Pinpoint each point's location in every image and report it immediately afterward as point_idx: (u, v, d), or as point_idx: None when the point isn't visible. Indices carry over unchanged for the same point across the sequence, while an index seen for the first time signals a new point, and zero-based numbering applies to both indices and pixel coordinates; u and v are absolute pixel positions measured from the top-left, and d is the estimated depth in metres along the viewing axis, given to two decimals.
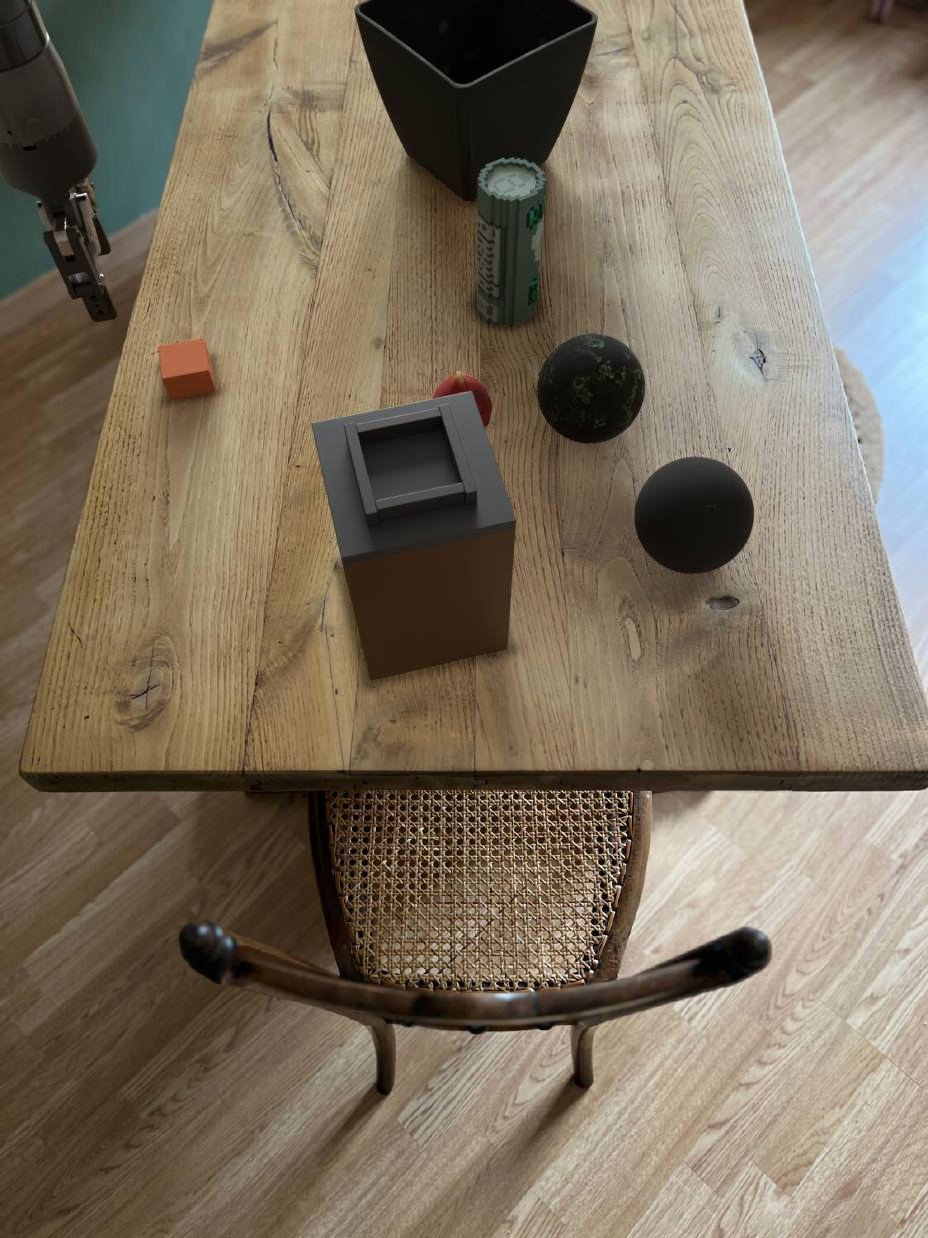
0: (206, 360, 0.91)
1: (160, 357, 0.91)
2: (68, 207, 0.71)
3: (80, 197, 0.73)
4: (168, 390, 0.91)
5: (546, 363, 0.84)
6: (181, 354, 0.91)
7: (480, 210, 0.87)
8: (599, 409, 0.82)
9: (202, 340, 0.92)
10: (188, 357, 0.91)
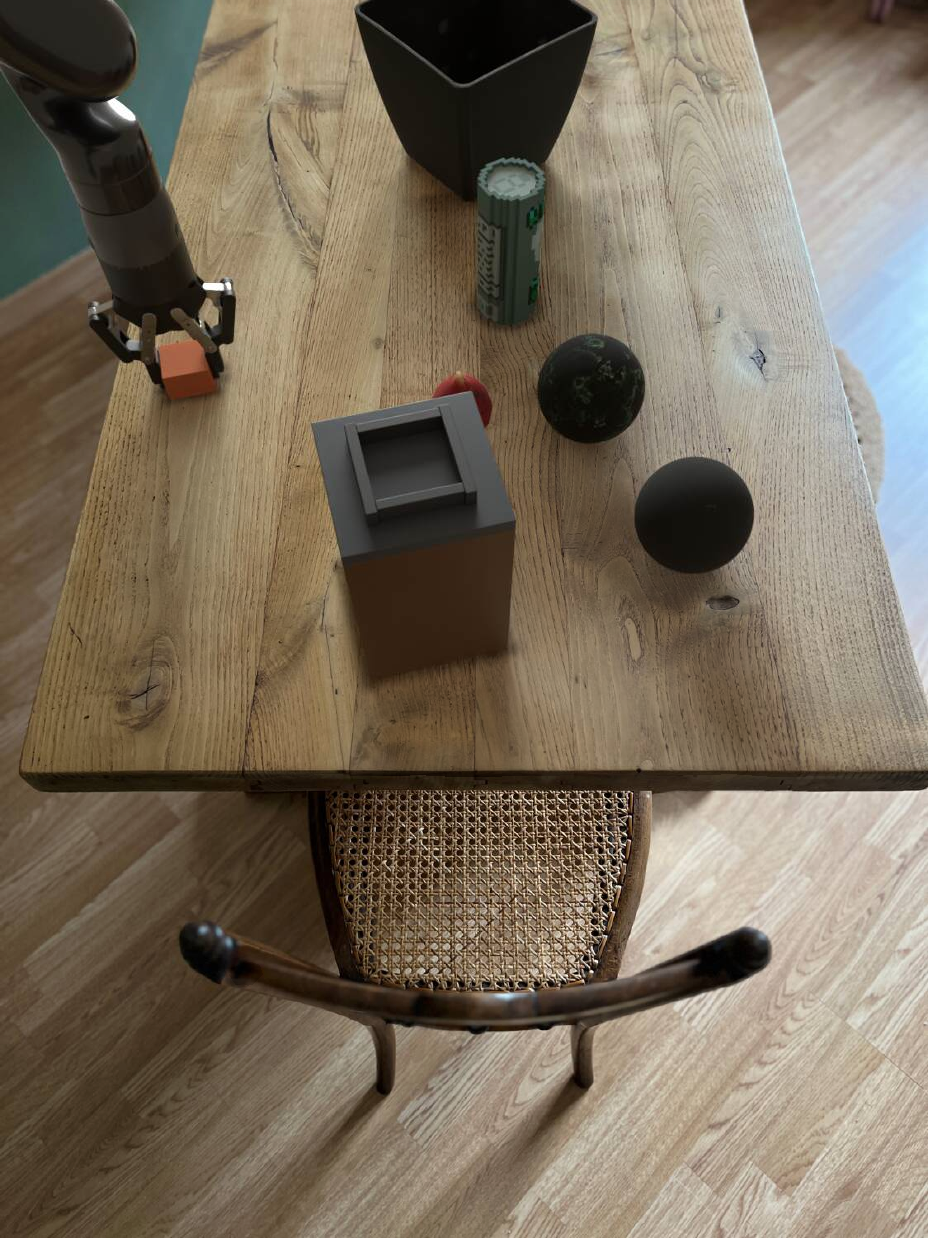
0: (206, 360, 0.91)
1: (160, 357, 0.91)
2: (114, 302, 0.83)
3: (145, 310, 0.84)
4: (168, 390, 0.91)
5: (546, 363, 0.84)
6: (181, 354, 0.91)
7: (480, 210, 0.87)
8: (599, 409, 0.82)
9: None
10: (188, 357, 0.91)
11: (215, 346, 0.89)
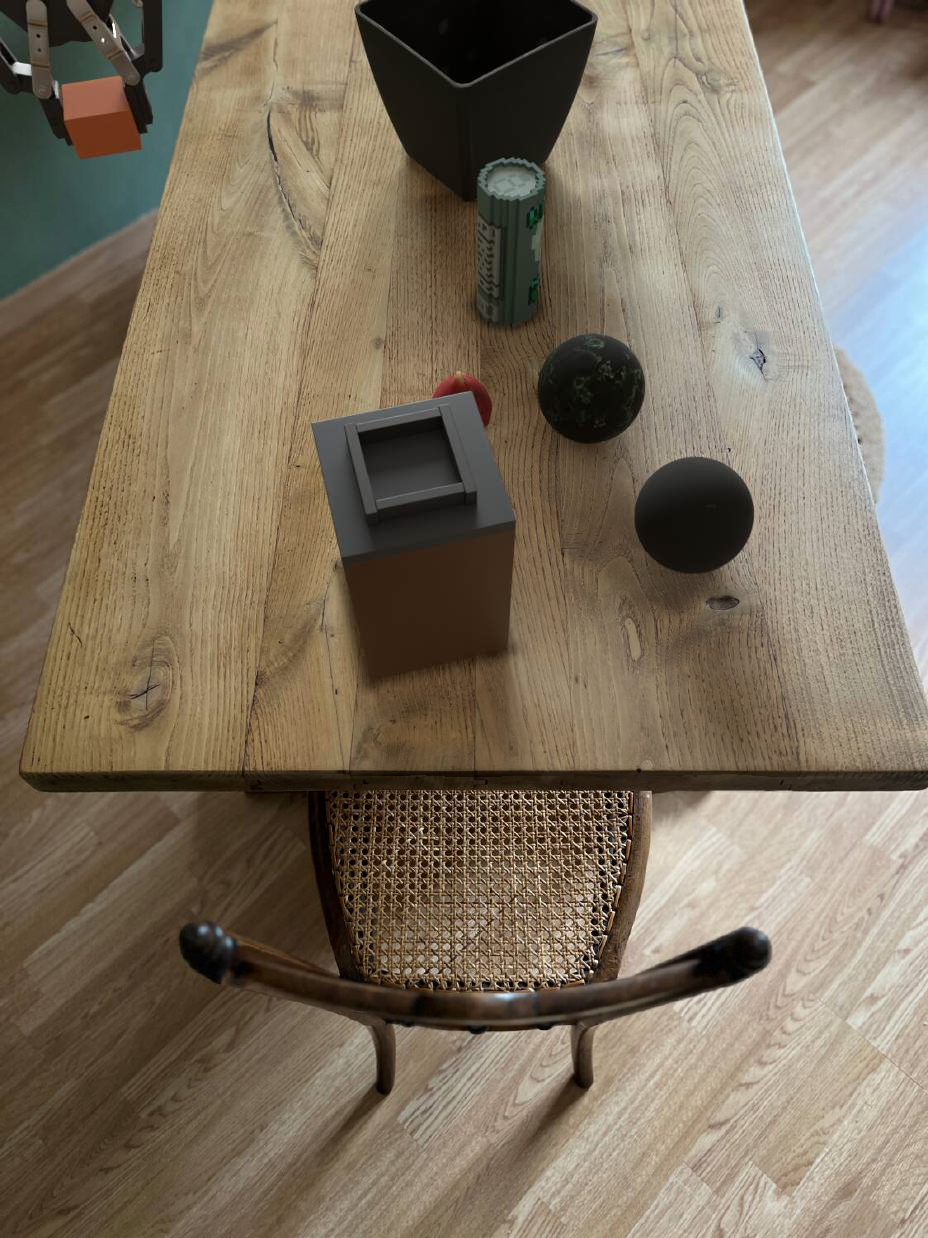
0: (126, 100, 0.66)
1: (63, 97, 0.66)
2: None
3: None
4: (74, 142, 0.66)
5: (546, 363, 0.84)
6: (92, 93, 0.66)
7: (480, 210, 0.87)
8: (599, 409, 0.82)
9: None
10: (102, 96, 0.66)
11: (137, 74, 0.65)
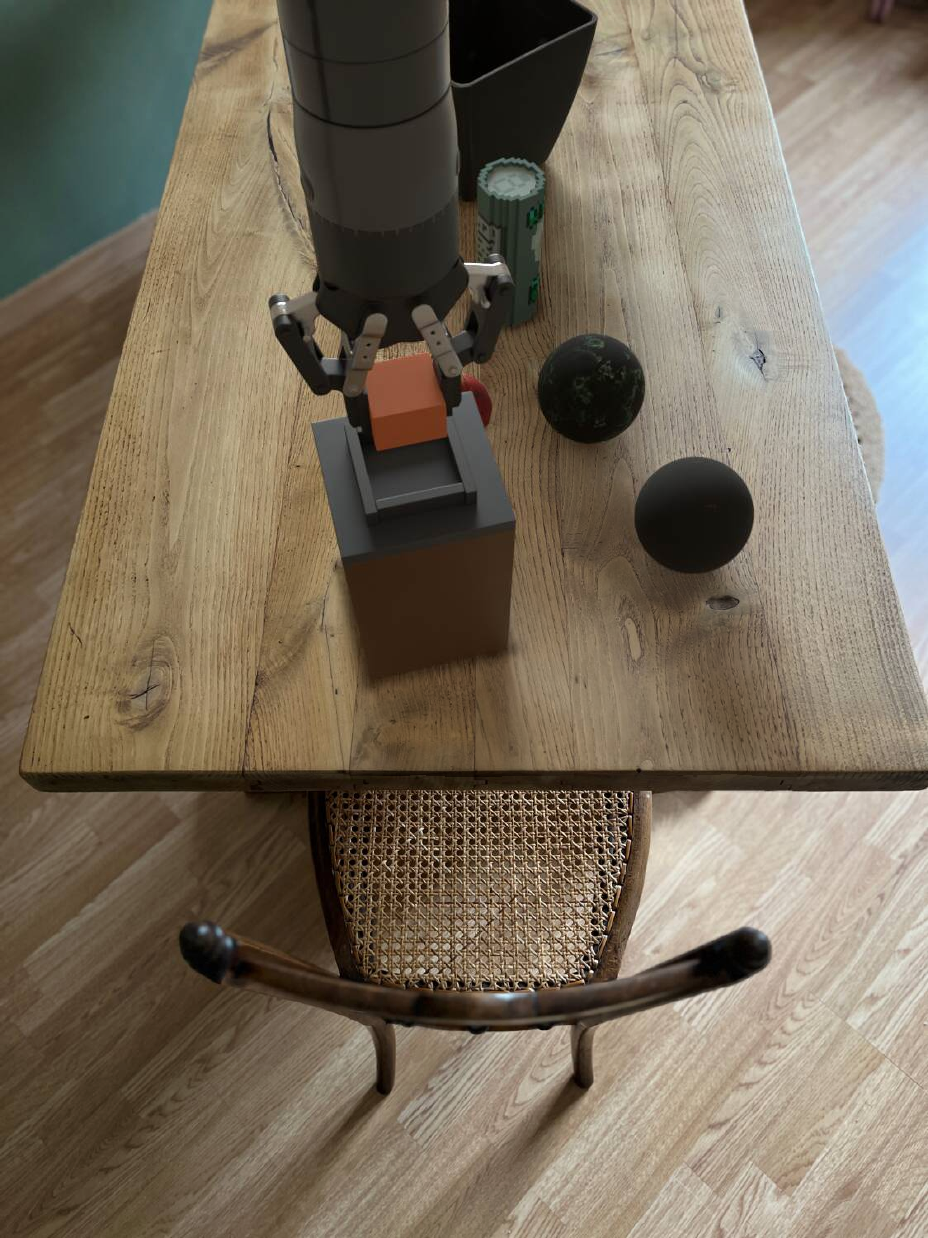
0: (439, 388, 0.57)
1: None
2: (322, 294, 0.48)
3: (370, 309, 0.49)
4: (377, 437, 0.57)
5: (546, 363, 0.84)
6: (397, 379, 0.57)
7: (480, 210, 0.87)
8: (599, 409, 0.82)
9: (428, 356, 0.58)
10: (410, 383, 0.57)
11: (461, 367, 0.55)
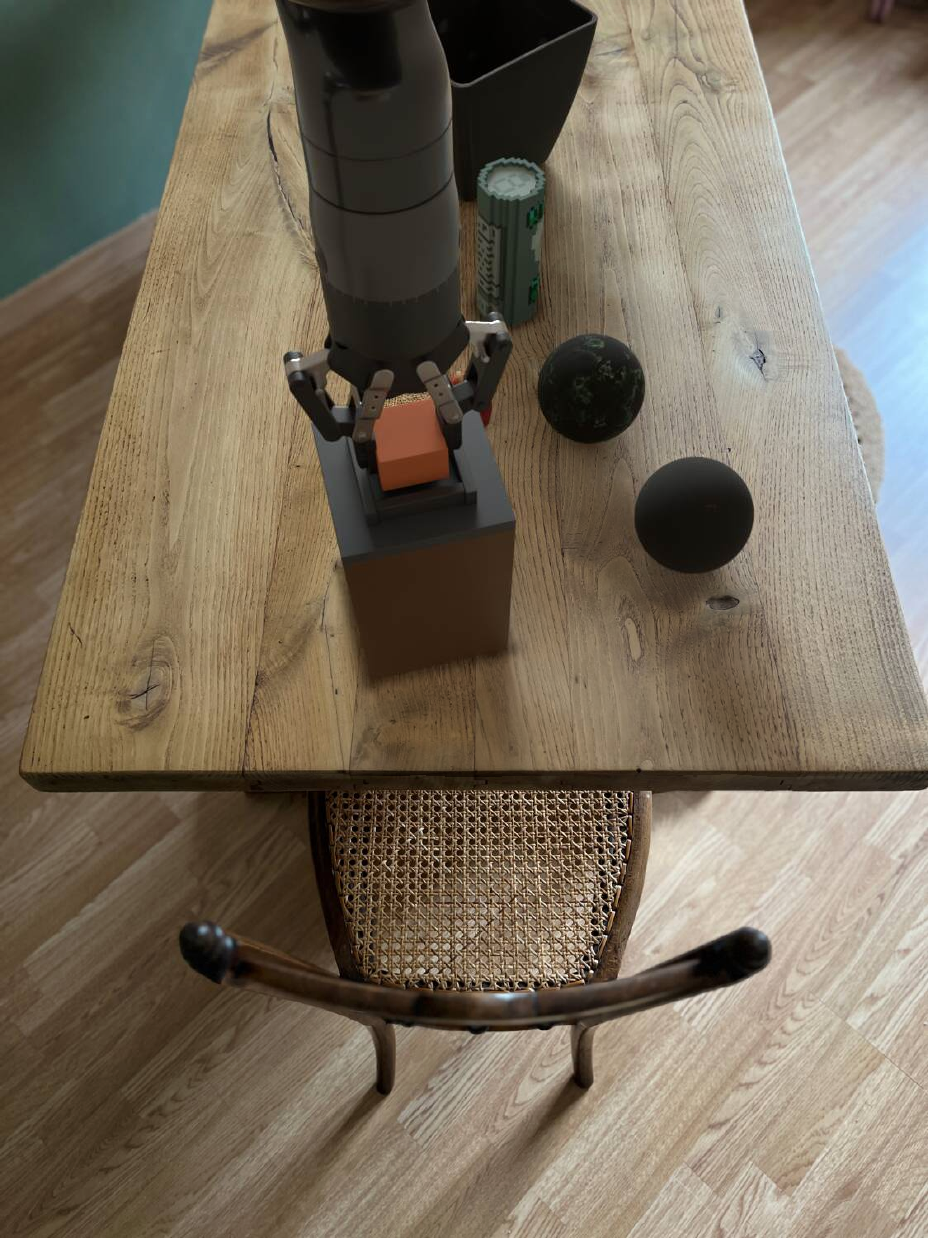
0: (441, 433, 0.60)
1: None
2: (333, 352, 0.52)
3: (378, 365, 0.53)
4: (383, 479, 0.60)
5: (546, 363, 0.84)
6: (402, 425, 0.61)
7: (480, 210, 0.87)
8: (599, 408, 0.82)
9: (431, 402, 0.61)
10: (414, 428, 0.60)
11: (461, 415, 0.59)
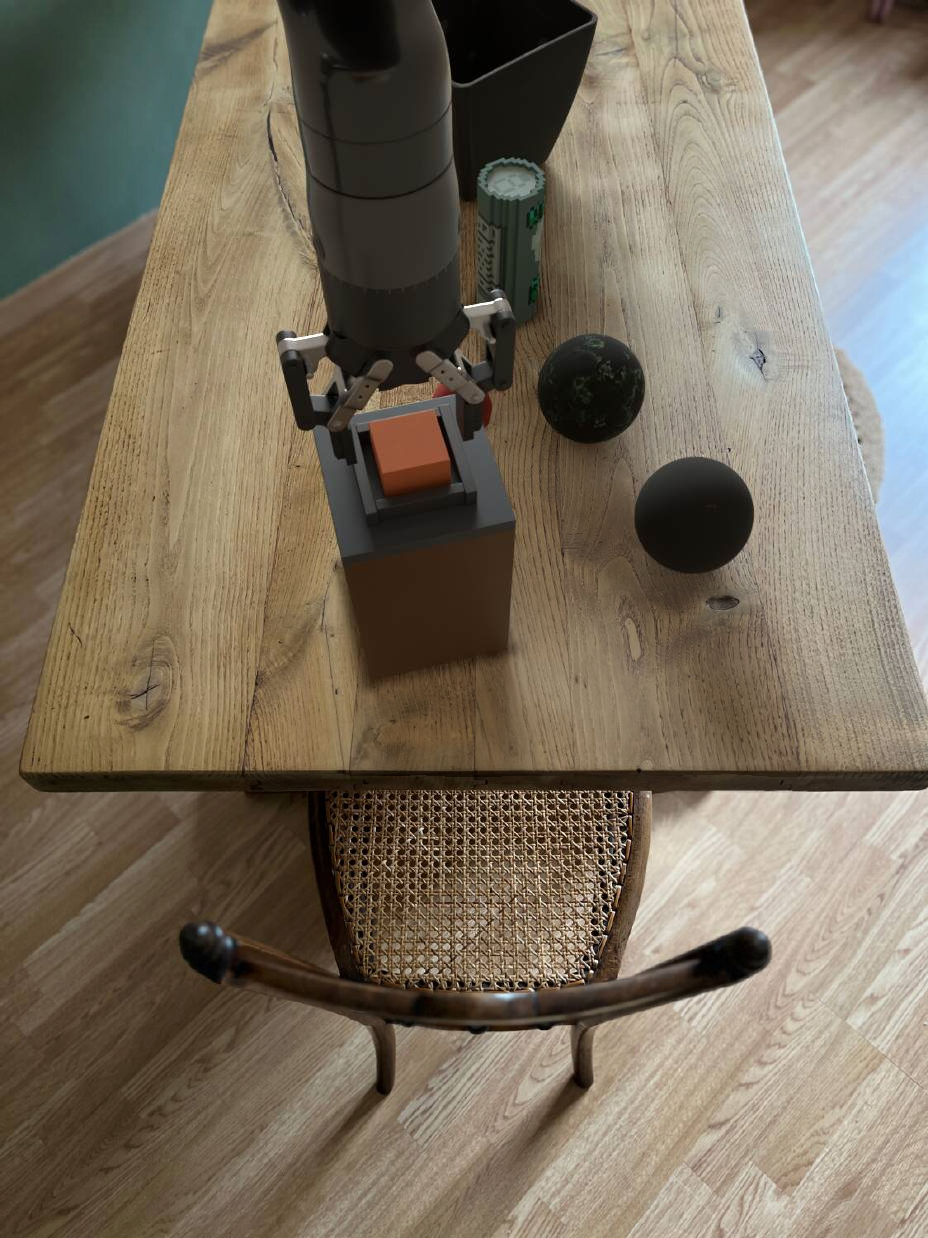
0: (444, 444, 0.61)
1: (374, 440, 0.61)
2: (331, 342, 0.51)
3: (377, 355, 0.52)
4: (386, 489, 0.61)
5: (546, 363, 0.84)
6: (405, 436, 0.62)
7: (480, 210, 0.87)
8: (599, 408, 0.82)
9: (433, 413, 0.62)
10: (417, 439, 0.61)
11: (483, 394, 0.57)
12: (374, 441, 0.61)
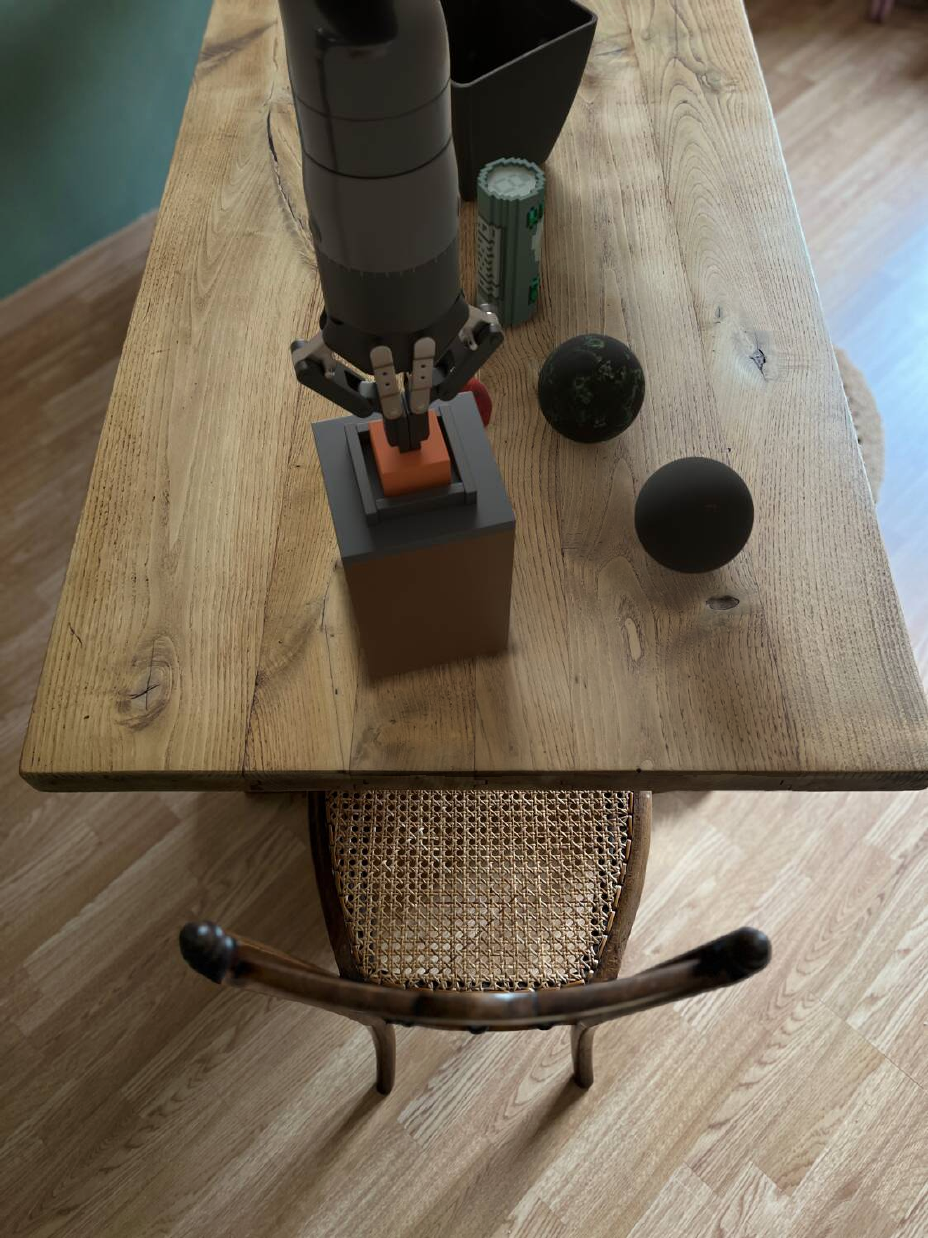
0: (444, 444, 0.61)
1: (374, 440, 0.61)
2: (328, 328, 0.50)
3: (374, 341, 0.51)
4: (386, 489, 0.61)
5: (546, 363, 0.84)
6: None
7: (480, 210, 0.87)
8: (599, 409, 0.82)
9: (433, 413, 0.62)
10: None
11: (427, 404, 0.57)
12: (374, 441, 0.61)
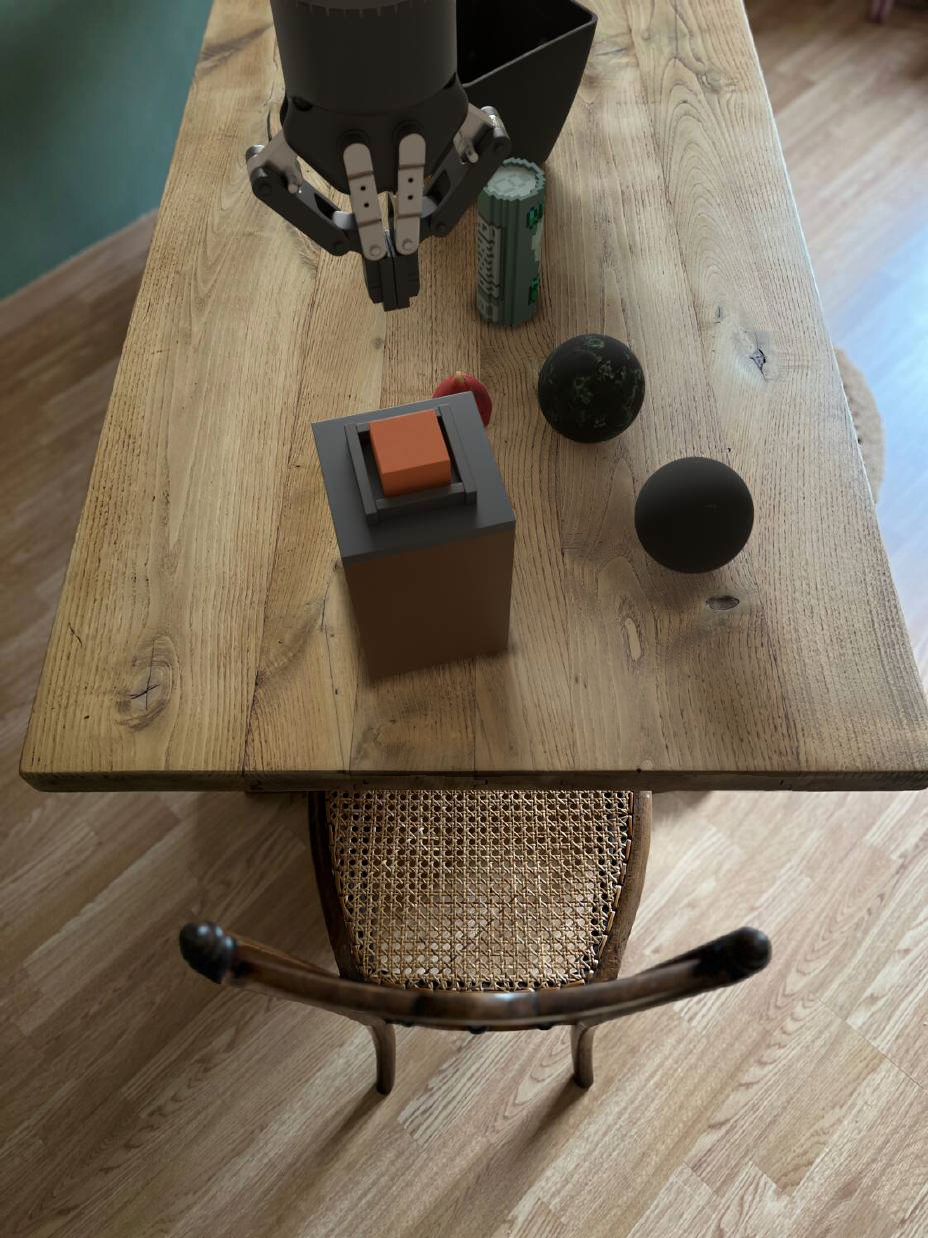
0: (444, 444, 0.61)
1: (374, 440, 0.61)
2: (290, 118, 0.40)
3: (349, 138, 0.41)
4: (386, 489, 0.61)
5: (546, 363, 0.84)
6: (405, 436, 0.62)
7: (480, 210, 0.87)
8: (599, 409, 0.82)
9: (433, 413, 0.62)
10: (417, 439, 0.61)
11: (417, 241, 0.47)
12: (374, 441, 0.61)
